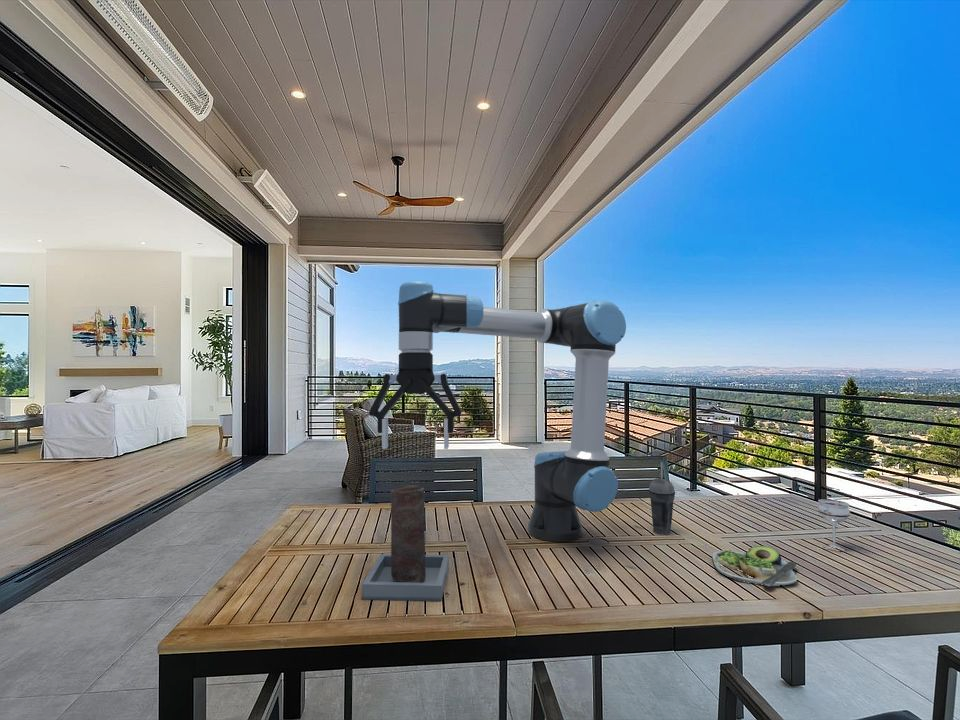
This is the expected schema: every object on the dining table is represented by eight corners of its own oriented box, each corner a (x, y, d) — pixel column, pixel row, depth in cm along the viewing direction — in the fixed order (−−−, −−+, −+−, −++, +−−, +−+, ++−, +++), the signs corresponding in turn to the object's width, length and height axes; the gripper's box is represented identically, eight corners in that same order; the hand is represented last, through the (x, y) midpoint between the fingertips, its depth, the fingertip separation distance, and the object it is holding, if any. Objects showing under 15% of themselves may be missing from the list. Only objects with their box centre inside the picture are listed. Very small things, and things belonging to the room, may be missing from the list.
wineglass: (852, 548, 125) (851, 502, 125) (849, 555, 120) (848, 507, 120) (820, 542, 130) (819, 497, 130) (816, 548, 125) (815, 502, 125)
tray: (448, 568, 110) (449, 555, 111) (441, 601, 94) (441, 585, 95) (380, 567, 111) (380, 554, 111) (361, 599, 95) (362, 584, 95)
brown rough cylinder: (395, 590, 98) (396, 492, 98) (385, 576, 104) (386, 485, 105) (430, 583, 101) (431, 488, 102) (418, 570, 108) (419, 481, 108)
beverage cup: (648, 534, 135) (647, 463, 136) (649, 526, 142) (648, 459, 142) (675, 537, 132) (675, 465, 133) (675, 530, 139) (675, 461, 140)
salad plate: (813, 601, 96) (813, 578, 96) (715, 585, 103) (715, 563, 103) (793, 566, 114) (793, 546, 114) (710, 554, 121) (710, 536, 121)
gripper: (472, 352, 109) (472, 445, 109) (364, 353, 110) (364, 445, 109) (471, 351, 102) (471, 450, 101) (355, 351, 102) (354, 450, 101)
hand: (415, 448), depth 105 cm, fingers open, 13 cm apart
